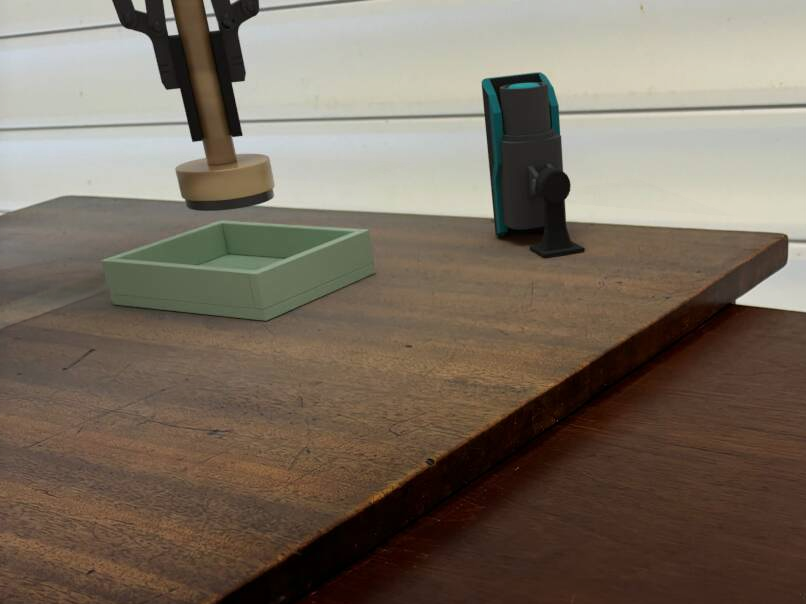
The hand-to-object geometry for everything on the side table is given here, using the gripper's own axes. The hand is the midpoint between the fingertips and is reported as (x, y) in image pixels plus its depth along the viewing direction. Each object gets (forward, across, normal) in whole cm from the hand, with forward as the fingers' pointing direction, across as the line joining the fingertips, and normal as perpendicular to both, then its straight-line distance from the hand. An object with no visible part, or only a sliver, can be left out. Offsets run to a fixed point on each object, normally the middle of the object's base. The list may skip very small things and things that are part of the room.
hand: (216, 135), depth 86 cm
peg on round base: (+4, 0, 0) cm, 4 cm away
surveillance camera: (+11, +25, +2) cm, 27 cm away
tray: (+11, 0, 0) cm, 11 cm away
